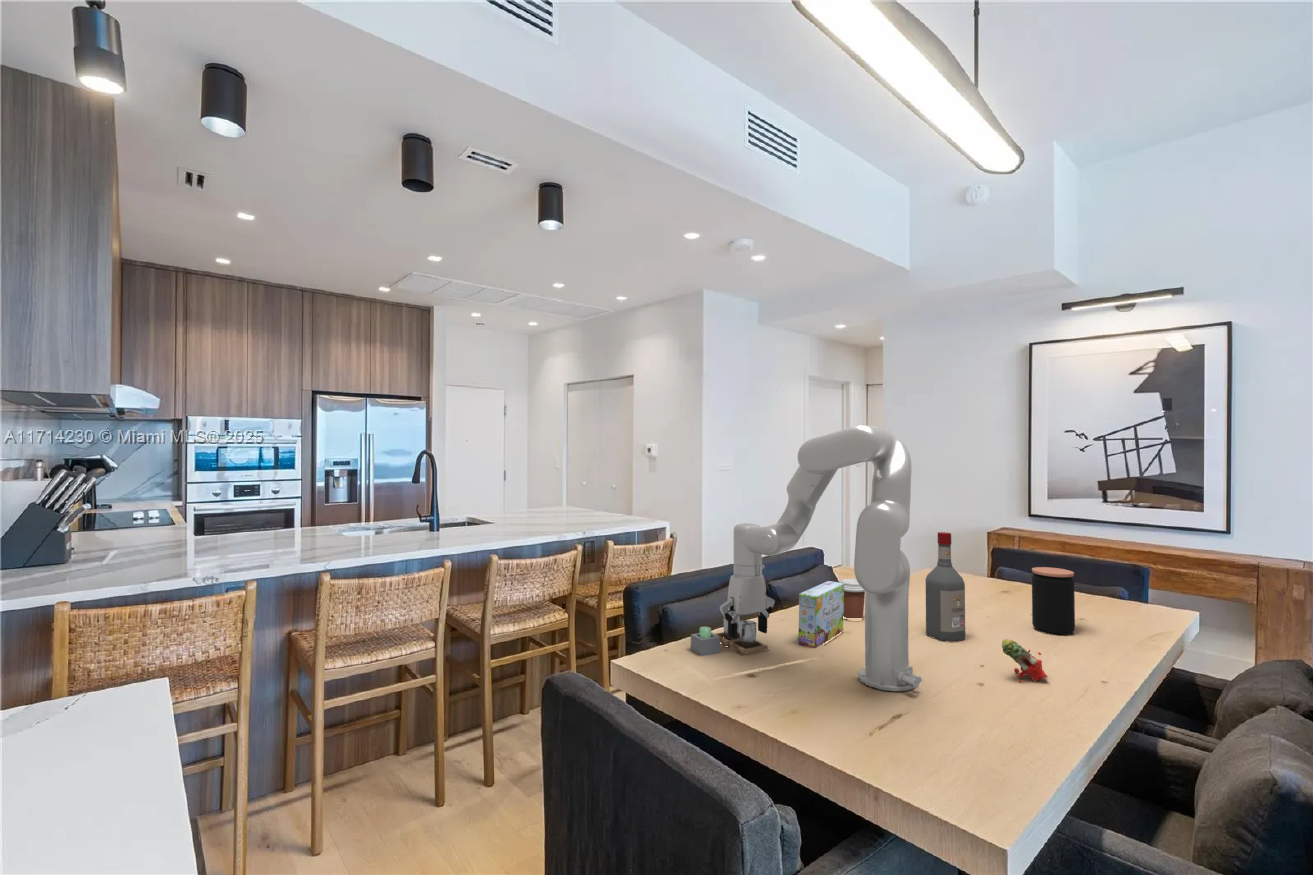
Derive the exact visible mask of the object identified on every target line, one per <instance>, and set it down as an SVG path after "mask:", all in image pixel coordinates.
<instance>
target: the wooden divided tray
mask: <svg viewBox="0 0 1313 875" xmlns="http://www.w3.org/2000/svg"><path fill="white" fill-rule="evenodd" d="M714 634H715V635H717V636H719V637H720V642H721V643H722V644H720V646H722V647H724V648H726V649H728V650H730V651H732V652H733V653H736V654H737V655H739V656H742V657H743V656H744V657H745V656H750V655H754V654H761V653H766V652H770V651H771V650H770V649H769V648H768V644H765V643H763V642H761V641H759V640H757V639H756V647H753V648H747V649H745V648H743V647H741V646H740V639H735V640H727V639H725V638H723V637H724V631H723V632H717V633H714ZM725 646H728V647H725Z"/></svg>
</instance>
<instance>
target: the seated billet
mask: <svg viewBox="0 0 1313 875" xmlns="http://www.w3.org/2000/svg"><path fill="white" fill-rule="evenodd" d="M728 614H729V612H728ZM733 616H734V615H733ZM740 616H741V615H739V617H738V619H737V620H736V622H735V623H737V638H736V639H740V621H741V619H740V618H741V617H740ZM723 632H724V638H725V639H727V640H735V639H734V638H732V637H730V636H729V634H728V621H726V619H725V618H724V617H723Z"/></svg>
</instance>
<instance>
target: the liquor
mask: <svg viewBox="0 0 1313 875" xmlns="http://www.w3.org/2000/svg"><path fill="white" fill-rule="evenodd" d="M937 544H938V545H937V553H938V554H937V557H938V558H937V562H936V566H935V567H934V568H932V570H931V571H930V572H928V574H927V575H926V577H925V633H926V635H927V636H928V637H929V636H931V637H930V638H932V637H934V638H933V639H935V638H936V639H935V640H937V639H938V641H940V640H941V641H940V642H946V641H955V642H961V641H964V640H965V638H966V583H965V580H964V579H963V577H962V576H961V575H960V573H958V571H957V570H956V569H955V568H954V567H953V562H952V546H951V545H952V533H951V532H945V531H944V532H943V531H941V532H940V531H939V532H937Z"/></svg>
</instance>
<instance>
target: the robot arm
mask: <svg viewBox="0 0 1313 875" xmlns="http://www.w3.org/2000/svg"><path fill="white" fill-rule="evenodd" d="M911 460H912V459H911V455H910V452H909V450H908V447H907V446H906V444H905V443H904V441H903V440H902V439H901V438H899V437H898V436H897V435H896V434H894V433H893V432H891V431H889V430H887V429H886V428H883V427H881V426H880V427H879V426H875V425H864V424H860V425H854V426H850V427H847V428H844V429H841V430H838V431H834V432H830V433H827V434H825V435H824V434H823V435H820V436H816V437H812V438H810V439H808V440H806V441H805V442H804V443H802V444H801V446H800V447H799V448H798V453H797V462H798V465H799V466H798V467H797V469H796V471H795V472H794V474H792V475H793V476H792V477H791V479H790V480H789V482H788V484H787V486H786V493H787V496H788V500H787V505H786V507H785V509H784V511H783V513H782V514H781V516H780V517H779V519H778V521H777V523H775V524H772V525H767V526H760V525H759V524H756V523H748V522H747V523H745V522H744V523H738V524H736V525H735V526H734V528H733V575H730V578H729V583H728V591H727V600H726V601H725V602H723V603H722V604H721V605H720V606H719V610H720V613H721V616H722V618H723V619H724V618H725V619H726V621H728V634H729V636H730V637H732V638H734V639H736V638H737V623H735V622H736V620H737V619H738V617H739V616H745V615H752V614H759V615H758V617H757V630H758V631H759V632H761V633H763V634H767V633H768V619H769V618H770V614H771V613H772V611H773V607H774V604H775V603H776V600H775V599H773V598H771V597H770V596H768V595H767V588H766V587H767V586H766V580H765V576H764V574H763V570H765V568H766V566H765V564H763V558H762V557H763V556H768V557H772V556H777V555H781V554H782V553H784V552H787V551H790V550H791V549H793V548H794V547H795V546H796V545H797V543H798V542H799V540H800V539H801V537H802V536H803V534H804V533H805V532H806V529H807V528H808V527H809V524H810V522H811V521H812V518H813V515H814V513H815V510H816V507H817V504H818V502H819V500H820V499H821V497H822V496H823V494H824V492H825V491H826V489H827V487H828V486H829V485H830V483H831V481H832V480H833V478H834V476H835V475H836V473H837V471H838V470H839V469H842V468H846V467H849V466H853V465H858V464H861V463H868V462H871V463H872V464H873V469H874V470H873V475H872V481H871V482H872V483H871V497H870V503H869V505H867V506H866V507H864V508H863V509H862V511H861V512H860V514H859V516H858V518H857V523H856V532H855V545H854V546H855V547H854V548H855V549H854V560H853V561H854V564H853V571H854V577H855V579H856V580H857V582H858V583H859V585H860V586H861V587H862V588H863V589H864V590H866V591H865V598H864V656H865V657H864V660H865V661H864V662H865V663H864V664H865V665H864V668H861V669H860V670H859V671H858V680H859V679H860V680H859V681H860V682H861V683H862V682H863V684H864V683H865V684H864V685H866V686H867V685H868V687H870V688H873V687H874V688H873V689H876V688H877V690H881V691H887V692H907V691H911V690H913V689H917V688H919V686H920V684H921V682H922V680H923V679H922V677H921V676H919V675H916V674H914V673H913V672H914V671H913V666H911V665H910V664H909V663H910V662H909V654H910V653H909V596H910V594H909V592H910V591H909V590H910V581H911V580H910V579H911V568H910V563H909V559H908V557H907V556H906V554H905V553H904V552H903V551H902V550H901V542H902V538H903V537H904V536H905V535H906V534H907V532H908V531H909V528H910V523H911V522H910V520H911V519H910V514H911V512H910V510H911V494H912V493H911V492H912V491H911V488H912V461H911ZM728 613H729V614H728ZM733 615H734V616H733Z"/></svg>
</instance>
